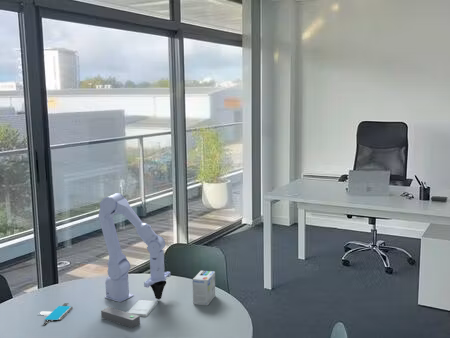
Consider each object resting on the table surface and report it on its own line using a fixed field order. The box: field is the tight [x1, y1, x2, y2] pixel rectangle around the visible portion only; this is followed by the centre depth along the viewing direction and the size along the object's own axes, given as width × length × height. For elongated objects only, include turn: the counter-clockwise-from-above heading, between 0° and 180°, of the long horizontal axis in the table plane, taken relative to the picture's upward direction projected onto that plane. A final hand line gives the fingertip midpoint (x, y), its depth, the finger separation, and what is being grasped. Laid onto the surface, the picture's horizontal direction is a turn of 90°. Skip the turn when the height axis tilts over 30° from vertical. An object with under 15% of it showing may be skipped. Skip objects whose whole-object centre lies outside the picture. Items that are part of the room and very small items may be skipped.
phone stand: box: [39, 302, 73, 324], centre depth 184 cm, size 20×12×2 cm, turn 174°
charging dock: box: [100, 306, 141, 329], centre depth 177 cm, size 16×4×3 cm, turn 57°
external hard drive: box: [127, 299, 158, 318], centre depth 187 cm, size 2×8×12 cm
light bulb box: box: [192, 270, 216, 306], centre depth 194 cm, size 11×7×11 cm, turn 164°
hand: (158, 298), depth 195 cm, fingers closed
